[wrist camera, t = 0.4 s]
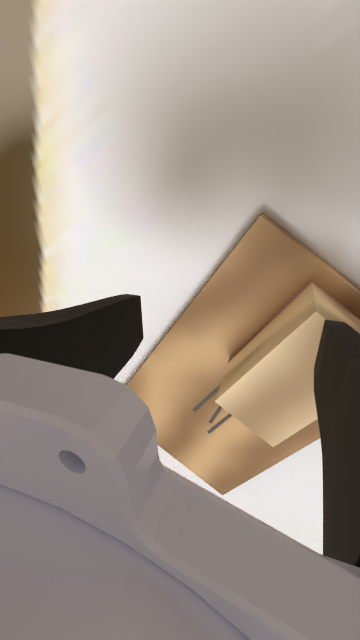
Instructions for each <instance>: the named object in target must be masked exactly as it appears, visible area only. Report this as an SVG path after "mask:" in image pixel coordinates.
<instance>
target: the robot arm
mask: <svg viewBox="0 0 360 640" xmlns="http://www.w3.org/2000/svg"><path fill="white" fill-rule="evenodd" d="M142 340H143V326H142V312H141V298H140V296H138V295H130V294H124V295H117V296H113V297H109V298H105V299H101V300H97V301H93V302H90V303H86V304H82V305H78V306H74V307H69V308H65V309H61V310H56V311H50V312H44V313H38V314H30V315H20V316H9V317H0V640H360V334H359V333H358V332H357V331H356V330H354V329H353V328H352V327H351V326H349V325H348V324H347V323H345V322H341V321H333V320H325V321H324V326H323V330H322V334H321V339H320V343H319V348H318V352H317V356H316V361H315V365H314V396H315V403H316V410H317V417H318V424H319V431H320V438H321V446H322V461H323V555H321V554H318V553H317V552H315V551H313V550H311V549H309V548H308V547H306V546H304V545H302V544H301V543H299V542H297V541H295V540H294V539H292V538H290V537H288V536H287V535H285V534H283V533H281V532H280V531H278V530H276V529H274V528H273V527H271V526H269V525H267V524H266V523H264V522H262V521H260V520H259V519H257V518H255V517H253V516H252V515H250V514H248V513H246V512H244V511H243V510H241V509H239V508H237V507H236V506H234V505H232V504H230V503H229V502H227V501H225V500H223V499H222V498H220V497H218V496H216V495H215V494H213V493H211V492H209V491H208V490H206V489H204V488H202V487H201V486H199V485H197V484H195V483H194V482H192V481H190V480H188V479H186V478H185V477H183V476H181V475H179V474H178V473H176V472H174V471H172V470H171V469H169V468H167V467H165V466H164V465H163V464H162V463H161V462H160V460H159V455H158V447H157V430H156V427H155V424H154V421H153V419H152V416H151V413H150V410H149V408H148V406H147V405H146V404H145V403H144V401H143V400H142V399H141V398H140V397H139V396H138V395H137V394H136V393H135V392H134V391H133V390H132V389H131V388H130V387H129V386H127V385H125V384H123V383H121V382H118V381H116V380H114V378H115V376H116V375H117V374H118V373H119V372H120V371H121V369H122V368H123V367H124V366H125V365H126V363H127V362H128V361H129V360H130V359H131V357H132V356H133V355H134V353H135V352H136V350H137V348H138V347H139V345H140V343H141V341H142Z"/></svg>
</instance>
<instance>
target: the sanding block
mask: <svg viewBox="0 0 360 640" xmlns="http://www.w3.org/2000/svg"><path fill="white" fill-rule="evenodd" d="M325 320H333V321H341V322H345V323H347V324H348V325H349V326H351V327H352V328H353V329H354V330H356V331H357V332H358V333H359V334H360V316H358V315H357V314H356V313H354V312H353V311H352V310H351V309H349V308H348V307H347V306H346V305H344V304H343V303H342V302H341V301H339V300H338V299H337V298H335V297H334V296H333V295H332V294H330V293H329V292H328V291H327V290H325V289H324V288H323V287H321V286H320V285H319V284H318V283H316V282H315V281H314V280H313V279H310V280H309V281H308V282H307V283H306V284H305V285H304V286H303V287H302V288H301V289H300V290H299V291H298V292H297V293H295V294H294V295H293V296H292V297H291V298H290V299H289V300H288V301H287V302H286V303H285V304H284V305H283V306H282V307H281V308H280V309H279V310H278V311H277V312H276V313H275V314H274V315H273V316H272V317H271V318H270V319H269V320H268V321H267V322H266V323H265V324H264V325H263V326H262V327H261V328H260V329H259V330H258V331H257V332H256V333H254V334H253V335H252V336H251V337H250V338H249V339H248V340H247V341H246V342H245V343H244V344H243V345H242V346H241V347H240V348H239V349H238V350H237V351H236V352H235V353H234V354H233V355H232V356H231V357H230V358H229V361H228V364H227V367H226V370H225V373H224V375H223V378H222V381H221V384H220V387H219V390H218V393H217V396H216V399H215V402H216V403H217V404H218V405H220V406H221V407H222V408H223V409H225V410H226V411H227V412H229V413H230V414H231V415H232V416H234V417H235V418H236V419H237V420H239V421H240V422H241V423H243V424H244V425H245V426H246V427H248V428H249V429H250V430H252V431H253V432H254V433H255V434H257V435H258V436H259V437H261V438H262V439H263V440H264V441H266V442H267V443H268V444H269V445H271V446H272V447H274V446H276V445H278V444H279V443H281V442H282V441H284V440H285V439H287V438H288V437H290V436H292V435H293V434H295V433H296V432H298V431H299V430H301V429H303V428H304V427H306V426H307V425H309V424H310V423H312V422H313V421H315V420H317V419H318V417H317V410H316V403H315V396H314V365H315V361H316V356H317V352H318V348H319V343H320V339H321V334H322V330H323V326H324V321H325Z"/></svg>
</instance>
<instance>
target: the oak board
mask: <svg viewBox="0 0 360 640" xmlns="http://www.w3.org/2000/svg"><path fill="white" fill-rule="evenodd" d="M310 279H313V280H314V281H315V282H316V283H318V284H319V285H320V286H321V287H323V288H324V289H325V290H327V291H328V292H329V293H330V294H332V295H333V296H334V297H335V298H337V299H338V300H339V301H341V302H342V303H343V304H344V305H346V306H347V307H348V308H349V309H351V310H352V311H353V312H354V313H356V314H357V315H358V316H360V290H359V289H358V288H357V287H356V286H354V285H353V284H352V283H350V282H349V281H348V280H347V279H345V278H344V277H343V276H342V275H340V274H339V273H338V272H337V271H335V270H334V269H333V268H331V267H330V266H329V265H328V264H326V263H325V262H324V261H323V260H321V259H320V258H319V257H318V256H316V255H315V254H314V253H312V252H311V251H310V250H309V249H307V248H306V247H305V246H304V245H302V244H301V243H300V242H299V241H297V240H296V239H295V238H293V237H292V236H291V235H290V234H288V233H287V232H286V231H285V230H283V229H282V228H281V227H280V226H278V225H277V224H276V223H274V222H273V221H272V220H271V219H269V218H268V217H267V216H266V215H264V214H263V213H262V214H261V215H260V216H259V217H258V219H257V220H256V221H255V223H254V224H253V225H252V226H251V228H250V229H249V230H248V231H247V233H246V234H245V235H244V237H243V238H242V239H241V240H240V242H239V243H238V244H237V245H236V247H235V248H234V249H233V251H232V252H231V253H230V254H229V256H228V257H227V258H226V259H225V261H224V262H223V263H222V265H221V266H220V267H219V268H218V270H217V271H216V272H215V273H214V275H213V276H212V277H211V278H210V280H209V281H208V282H207V284H206V285H205V286H204V287H203V289H202V290H201V291H200V292H199V294H198V295H197V296H196V298H195V299H194V300H193V301H192V303H191V304H190V305H189V306H188V308H187V309H186V310H185V312H184V313H183V314H182V315H181V317H180V318H179V319H178V320H177V322H176V323H175V324H174V326H173V327H172V328H171V329H170V331H169V332H168V333H167V334H166V336H165V337H164V338H163V340H162V341H161V342H160V343H159V345H158V346H157V347H156V348H155V350H154V351H153V352H152V354H151V355H150V356H149V357H148V359H147V360H146V361H145V362H144V364H143V365H142V366H141V367H140V369H139V370H138V371H137V373H136V374H135V375H134V376H133V378H132V379H131V380H130V381H129V383H128V384H127V386H129V387H130V388H131V389H132V390H133V391H134V392H135V393H136V394H137V395H138V396H139V397H140V398H141V399H142V400H143V401H144V403H145V404H146V405H147V406H148V408H149V410H150V413H151V416H152V419H153V421H154V424H155V427H156V430H157V445H159V446H160V447H161V448H162V449H164V450H165V451H166V452H168V453H169V454H170V455H171V456H173V457H174V458H175V459H177V460H178V461H179V462H180V463H182V464H183V465H184V466H186V467H187V468H188V469H189V470H191V471H192V472H193V473H195V474H196V475H197V476H198V477H200V478H201V479H202V480H204V481H205V482H206V483H207V484H209V485H210V486H211V487H213V488H214V489H215V490H216V491H218V492H219V493H220V494H222V495H224V494H226V493H227V492H229V491H231V490H232V489H234V488H236V487H237V486H239V485H241V484H243V483H244V482H246V481H248V480H249V479H251V478H253V477H254V476H256V475H258V474H260V473H261V472H263V471H265V470H266V469H268V468H270V467H271V466H273V465H275V464H277V463H278V462H280V461H282V460H283V459H285V458H287V457H288V456H290V455H292V454H294V453H295V452H297V451H299V450H300V449H302V448H304V447H305V446H307V445H309V444H311V443H312V442H314V441H316V440H317V439H319V438H320V431H319V424H318V419H317V420H315V421H313V422H312V423H310V424H309V425H307V426H306V427H304V428H303V429H301V430H299V431H298V432H296V433H295V434H293V435H292V436H290V437H288V438H287V439H285V440H284V441H282V442H281V443H279V444H278V445H276V446H274V447H272V446H271V445H269V444H268V443H267V442H266V441H264V440H263V439H262V438H261V437H259V436H258V435H257V434H255V433H254V432H253V431H252V430H250V429H249V428H248V427H246V426H245V425H244V424H243V423H241V422H240V421H239V420H237V419H236V418H235V417H234V416H232V415H231V414H230V413H229V412H227V411H226V410H225V409H223V408H222V407H221V406H220V405H218V404H217V403H216V402H215V399H216V396H217V393H218V390H219V387H220V384H221V381H222V378H223V375H224V373H225V370H226V367H227V364H228V361H229V358H230V357H231V356H232V355H233V354H234V353H235V352H236V351H237V350H238V349H239V348H240V347H241V346H242V345H243V344H244V343H245V342H246V341H247V340H248V339H249V338H250V337H251V336H252V335H253V334H254V333H256V332H257V331H258V330H259V329H260V328H261V327H262V326H263V325H264V324H265V323H266V322H267V321H268V320H269V319H270V318H271V317H272V316H273V315H274V314H275V313H276V312H277V311H278V310H279V309H280V308H281V307H282V306H283V305H284V304H285V303H286V302H287V301H288V300H289V299H290V298H291V297H292V296H293V295H294V294H295V293H297V292H298V291H299V290H300V289H301V288H302V287H303V286H304V285H305V284H306V283H307V282H308V281H309V280H310Z"/></svg>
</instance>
